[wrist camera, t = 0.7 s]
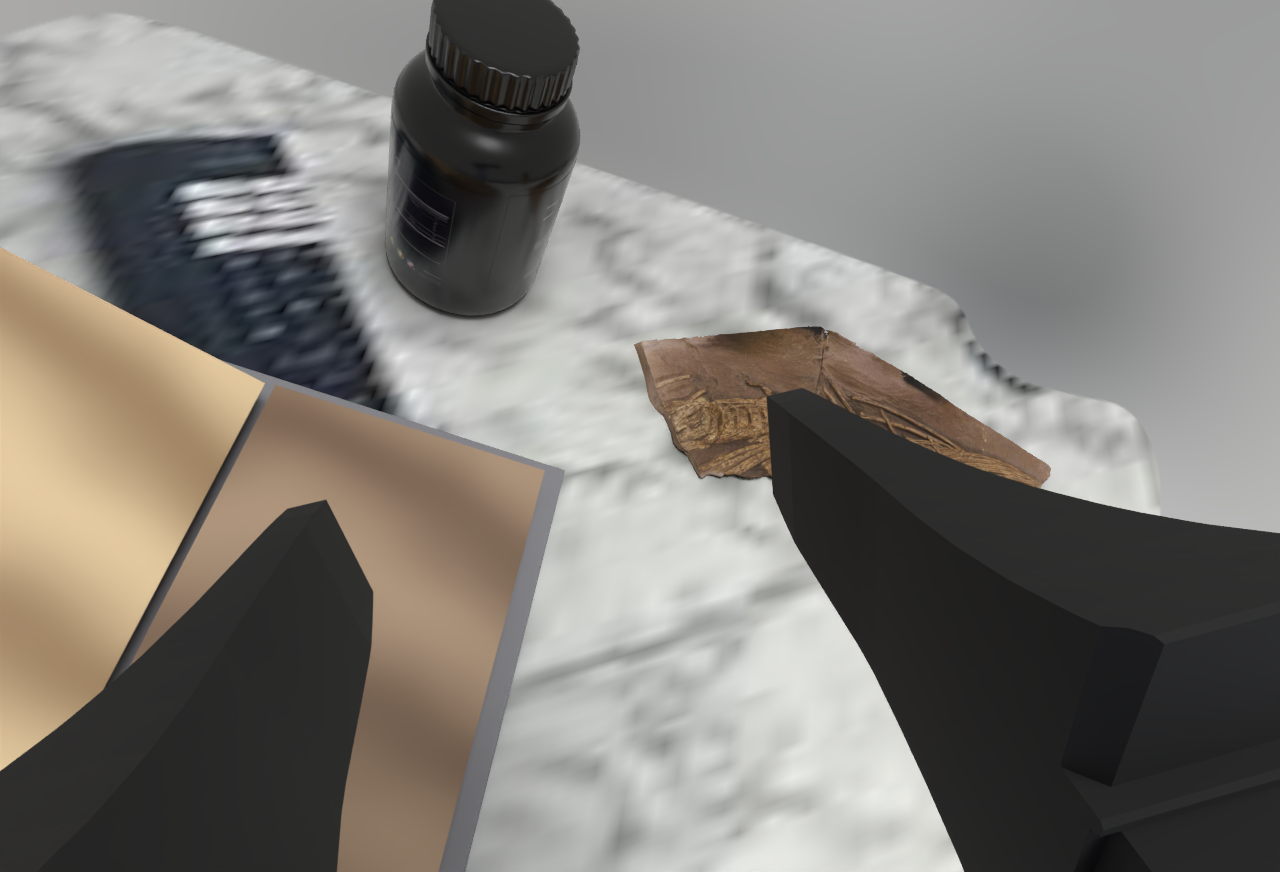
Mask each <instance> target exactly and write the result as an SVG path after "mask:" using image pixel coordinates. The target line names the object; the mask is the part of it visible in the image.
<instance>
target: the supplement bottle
mask: <svg viewBox="0 0 1280 872" xmlns="http://www.w3.org/2000/svg"><path fill="white" fill-rule="evenodd" d="M578 41H579V39H578V36H577V35H576V33H575V28H574V27H573V26H572V25H571V23H570V19H569V18H568V17H567V16H565V15H564V13H563V11H562V10H561V9H560V8H558V7H557V6H556V5H555V4H554V3H553V2H552V1H551V0H434V1H433V3H432V7H431V17H430V28H429V32H428V35H427V39H426V48H425V50H423V51H422V52H420V53H419V54H417V55H416V56H415V57H414V58H412V59H411V60H410V61H409V63H408V64H407V65H406V66H405V67H404V69H403V70H402V72H401V73H400V75H399V77H398V79H397V81H396V84H395V87H394V92H393V99H392V108H391V127H390V147H389V167H388V186H387V206H386V231H385V245H386V253H387V257H388V260H389V263H390V266H391V268H392V270H393V272H394V273H395V275H396V277H397V278H398V279H399V281H400V282H401V283H402V284H403V285H404V286H405V287H406V288H407V289H408V290H409V291H410V292H411V293H412V294H413V295H414V296H416V297H417V298H419V299H420V300H422V301H423V302H425V303H427V304H429V305H431V306H433V307H435V308H437V309H440V310H443V311H446V312H450V313H454V314H460V315H485V314H491V313H495V312H498V311H501V310H503V309H506V308H508V307H510V306H511V305H513V304H514V303H516V302H517V301H518V300H520V299H521V298H522V297H523V296H524V295H525V294H526V292H527V291H528V290H529V288H530V286H531V285H532V283H533V281H534V278H535V276H536V273H537V271H538V268H539V265H540V263H541V260H542V257H543V254H544V251H545V248H546V246H547V243H548V240H549V237H550V234H551V231H552V228H553V225H554V223H555V220H556V217H557V214H558V211H559V208H560V205H561V202H562V200H563V197H564V194H565V191H566V188H567V185H568V182H569V179H570V177H571V174H572V171H573V168H574V165H575V162H576V158H577V154H578V150H579V145H580V129H579V123H578V119H577V115H576V112H575V109H574V107H573V104H572V102H571V100H570V98H569V96H570V93H571V89H572V78H573V75H574V72H575V68H576V65H577V60H578V55H579V50H580V48H579V45H578Z"/></svg>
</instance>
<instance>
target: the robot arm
mask: <svg viewBox="0 0 1280 872" xmlns="http://www.w3.org/2000/svg"><path fill="white" fill-rule="evenodd" d="M767 411H768V426H769V441H770V456H771V471H772V486H773V495H774V497H775V500H776V502H777V504H778V507H779V509H780V511H781V514H782V516H783V518H784V521H785V523H786V525H787V527H788V529H789V531H790V534H791V536H792V538H793V540H794V542H795V544H796V546H797V547H798V549H799V551H800V552H801V554H802V556H803V557H804V559H805V561H806V562H807V564H808V565H809V567H810V569H811V570H812V572H813V574H814V575H815V577H816V578H817V580H818V582H819V583H820V585H821V586H822V588H823V590H824V591H825V593H826V594H827V596H828V598H829V599H830V601H831V602H832V604H833V606H834V607H835V609H836V610H837V612H838V614H839V615H840V617H841V618H842V620H843V622H844V623H845V625H846V626H847V628H848V630H849V631H850V633H851V634H852V636H853V638H854V639H855V641H856V642H857V644H858V646H859V647H860V649H861V651H862V653H863V654H864V656H865V658H866V660H867V661H868V663H869V665H870V667H871V669H872V670H873V672H874V674H875V676H876V678H877V681H878V683H879V685H880V687H881V689H882V691H883V693H884V695H885V697H886V699H887V701H888V703H889V705H890V707H891V709H892V711H893V713H894V715H895V718H896V720H897V722H898V724H899V726H900V728H901V730H902V732H903V734H904V737H905V739H906V741H907V743H908V745H909V747H910V750H911V752H912V754H913V756H914V758H915V760H916V763H917V765H918V767H919V769H920V771H921V773H922V776H923V778H924V780H925V782H926V784H927V786H928V789H929V791H930V793H931V796H932V798H933V800H934V802H935V805H936V807H937V809H938V811H939V814H940V816H941V818H942V821H943V823H944V825H945V827H946V830H947V832H948V834H949V837H950V839H951V841H952V843H953V846H954V848H955V850H956V853H957V855H958V857H959V860H960V862H961V864H962V867H963V869H964V872H1280V533H1272V532H1265V531H1257V530H1248V529H1240V528H1232V527H1224V526H1216V525H1209V524H1202V523H1195V522H1190V521H1184V520H1179V519H1173V518H1168V517H1162V516H1157V515H1151V514H1146V513H1140V512H1135V511H1131V510H1126V509H1121V508H1116V507H1112V506H1107V505H1102V504H1098V503H1094V502H1090V501H1086V500H1082V499H1078V498H1074V497H1070V496H1066V495H1062V494H1058V493H1054V492H1051V491H1047V490H1044V489H1040V488H1037V487H1033V486H1030V485H1026V484H1023V483H1020V482H1017V481H1014V480H1011V479H1008V478H1005V477H1002V476H999V475H996V474H993V473H990V472H987V471H984V470H981V469H978V468H975V467H973V466H970V465H967V464H964V463H962V462H959V461H957V460H954V459H952V458H949V457H947V456H945V455H942V454H940V453H937V452H935V451H933V450H930V449H928V448H925V447H923V446H921V445H918V444H916V443H914V442H912V441H910V440H907V439H905V438H903V437H901V436H899V435H897V434H894V433H892V432H890V431H888V430H886V429H884V428H882V427H880V426H878V425H876V424H874V423H872V422H870V421H868V420H866V419H864V418H862V417H860V416H858V415H856V414H854V413H852V412H850V411H848V410H846V409H844V408H842V407H840V406H838V405H837V404H835V403H833V402H831V401H829V400H827V399H825V398H823V397H821V396H819V395H817V394H815V393H813V392H811V391H808V390H806V389H804V388H799V389H795V390H791V391H786V392H782V393H778V394H773V395H769V396H767ZM372 627H373V590H372V588H371V586H370V584H369V582H368V580H367V578H366V576H365V574H364V572H363V570H362V568H361V567H360V565H359V563H358V561H357V559H356V557H355V555H354V553H353V551H352V549H351V547H350V545H349V543H348V541H347V539H346V537H345V535H344V533H343V531H342V529H341V527H340V525H339V523H338V521H337V520H336V518H335V516H334V514H333V512H332V510H331V508H330V506H329V504H328V502H327V500H322V501H318V502H313V503H309V504H305V505H301V506H296V507H292V508H288V509H286V510H285V511H284V512H283V513H282V514H281V515H280V516H279V517H277V518H276V519H275V520H274V521H273V522H272V523H271V524H270V525H269V526H268V527H267V528H266V529H265V530H264V531H263V532H262V533H261V535H260V536H259V537H258V538H257V539H256V540H255V541H254V542H253V543H252V544H251V545H250V546H249V547H248V548H247V549H246V550H245V551H244V552H243V553H242V555H241V556H240V557H239V558H238V559H237V560H236V561H235V562H234V563H233V564H232V565H231V566H230V567H229V568H228V569H227V570H226V571H225V573H224V574H223V575H222V576H221V577H220V578H219V579H218V580H217V581H216V582H215V583H214V584H213V585H212V586H211V587H210V588H209V589H208V590H207V591H206V592H205V594H204V595H203V596H202V597H201V598H200V599H199V600H198V601H197V602H196V603H195V604H194V605H193V606H192V607H191V608H190V609H189V610H188V611H187V612H186V613H185V614H184V615H183V616H182V617H181V618H180V619H179V620H178V621H177V622H176V623H174V624H173V625H172V626H171V627H170V628H169V629H168V630H167V631H166V632H165V633H164V634H163V635H162V636H161V637H160V638H159V639H158V640H157V641H156V642H155V643H154V644H153V645H152V646H151V647H150V648H149V649H148V650H147V651H146V652H145V653H144V654H143V655H142V656H141V657H140V658H138V659H137V660H136V661H135V662H134V663H133V664H132V665H131V666H130V667H129V668H128V669H126V670H125V671H124V672H123V673H122V674H121V675H120V676H119V677H117V678H116V679H115V680H114V681H113V682H112V683H111V684H109V685H108V686H107V687H106V688H105V689H104V690H102V691H101V692H100V693H99V694H98V695H97V696H95V697H94V698H93V699H92V700H91V701H89V702H88V703H87V704H86V705H85V706H83V707H82V708H81V709H80V710H79V711H77V712H76V713H75V714H74V715H73V716H72V717H70V718H69V719H68V720H67V721H65V722H64V723H63V724H62V725H60V726H59V727H58V728H57V729H55V730H54V731H53V732H51V733H50V734H49V735H47V736H46V737H45V738H43V739H42V740H41V741H39V742H38V743H37V744H35V745H34V746H33V747H31V748H30V749H29V750H27V751H26V752H25V753H24V754H22V755H21V756H20V757H18V758H17V759H16V760H14V761H13V762H12V763H10V764H9V765H8V766H6V767H5V768H4V769H2V770H1V771H0V872H337V864H338V852H339V840H340V828H341V815H342V807H343V801H344V794H345V787H346V780H347V775H348V770H349V765H350V760H351V755H352V749H353V744H354V739H355V734H356V729H357V723H358V718H359V713H360V708H361V703H362V698H363V692H364V687H365V681H366V676H367V670H368V665H369V659H370V653H371V645H372Z"/></svg>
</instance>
